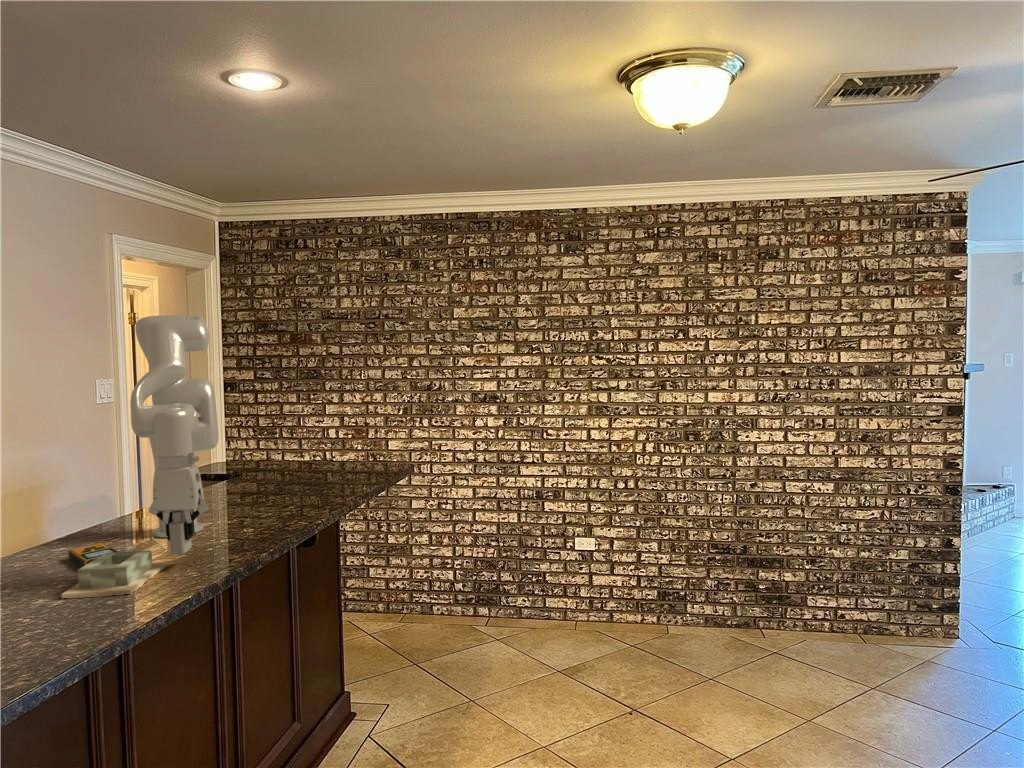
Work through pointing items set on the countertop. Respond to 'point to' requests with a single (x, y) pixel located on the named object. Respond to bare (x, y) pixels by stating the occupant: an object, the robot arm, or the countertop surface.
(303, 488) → the countertop surface
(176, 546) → the power adapter
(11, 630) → the countertop surface
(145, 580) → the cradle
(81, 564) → the electronic device
